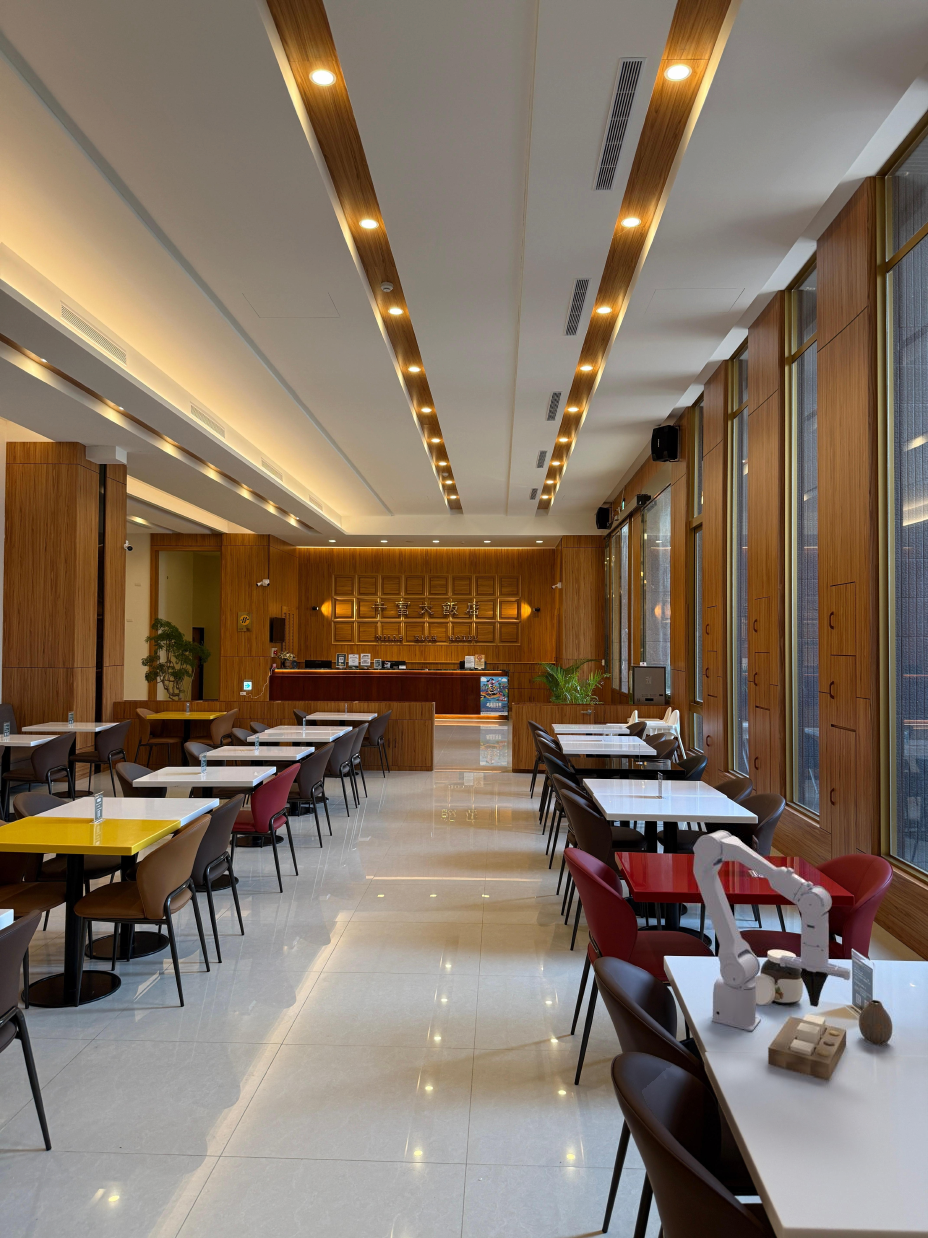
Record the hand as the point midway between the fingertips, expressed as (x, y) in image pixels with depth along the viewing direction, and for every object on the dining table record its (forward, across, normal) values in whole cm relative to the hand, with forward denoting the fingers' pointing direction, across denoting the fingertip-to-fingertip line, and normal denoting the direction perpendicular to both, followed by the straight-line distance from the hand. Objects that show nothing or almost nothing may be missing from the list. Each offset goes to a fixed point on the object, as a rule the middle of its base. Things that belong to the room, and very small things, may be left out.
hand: (814, 1005), depth 189 cm
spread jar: (+9, -13, +20) cm, 26 cm away
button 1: (+9, 0, -12) cm, 15 cm away
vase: (+9, +11, +11) cm, 18 cm away
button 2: (+7, 0, 0) cm, 7 cm away
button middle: (+7, 0, -6) cm, 9 cm away
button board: (+9, 0, -6) cm, 11 cm away
